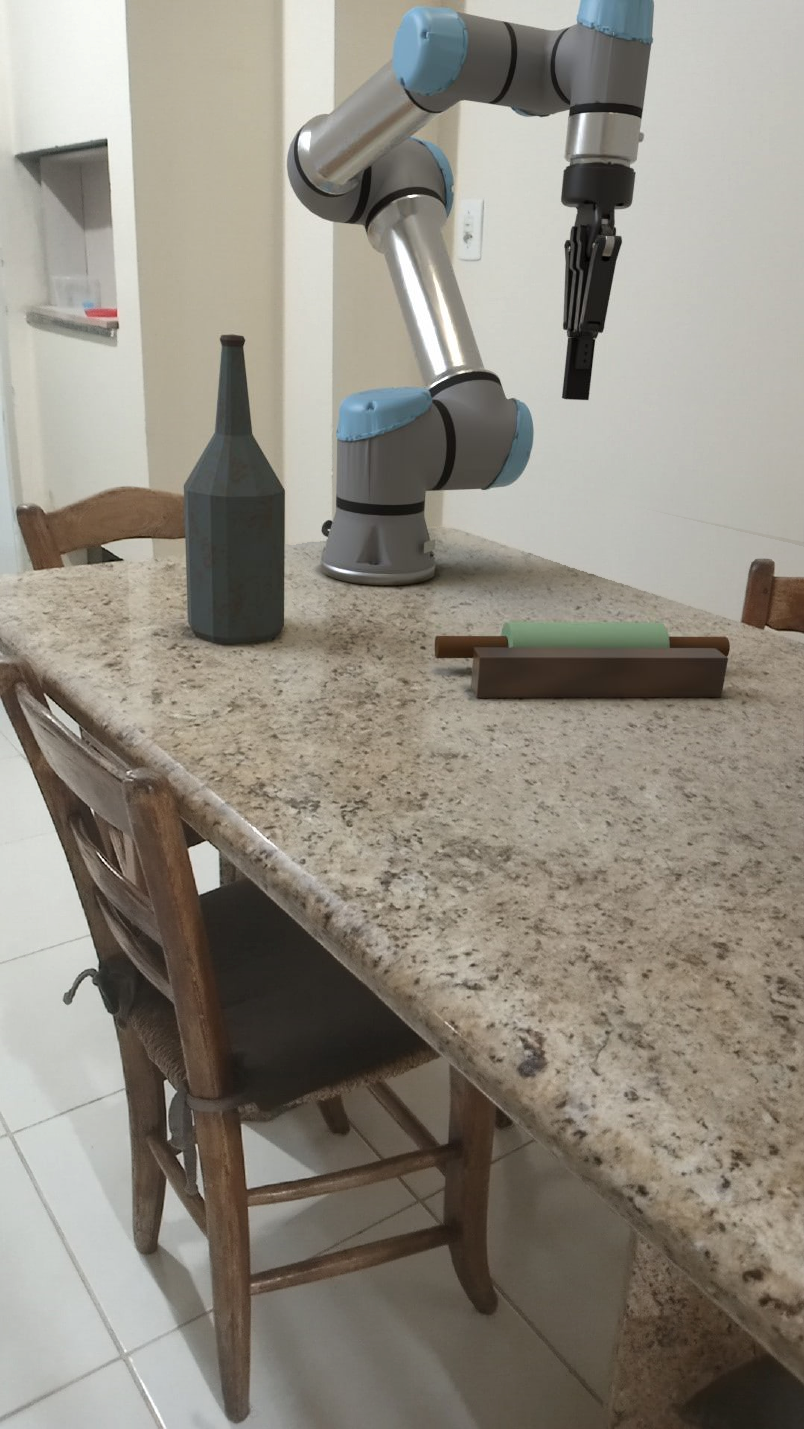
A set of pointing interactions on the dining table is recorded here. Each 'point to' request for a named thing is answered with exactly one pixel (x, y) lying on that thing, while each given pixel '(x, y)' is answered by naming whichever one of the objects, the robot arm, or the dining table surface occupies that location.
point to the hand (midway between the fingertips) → (575, 398)
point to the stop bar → (597, 672)
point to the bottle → (234, 523)
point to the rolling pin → (575, 638)
